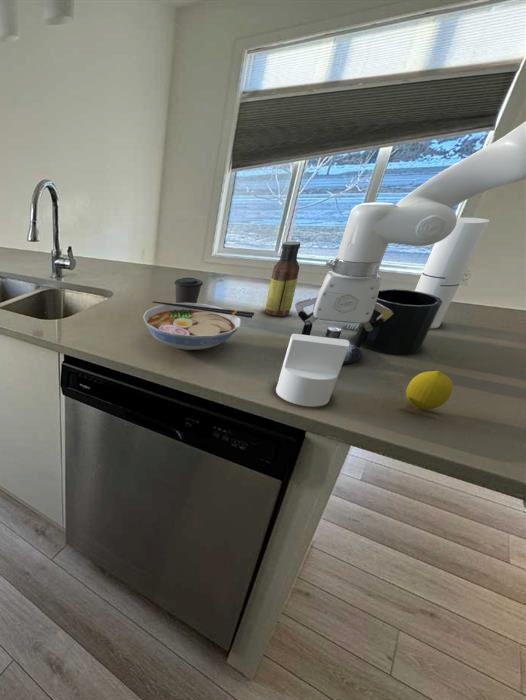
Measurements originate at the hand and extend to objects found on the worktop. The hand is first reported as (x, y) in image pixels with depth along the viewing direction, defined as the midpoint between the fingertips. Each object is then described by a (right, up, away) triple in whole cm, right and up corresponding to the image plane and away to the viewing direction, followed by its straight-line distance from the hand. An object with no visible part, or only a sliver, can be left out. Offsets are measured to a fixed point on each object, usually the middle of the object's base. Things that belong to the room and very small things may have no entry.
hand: (330, 341), depth 93 cm
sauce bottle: (+3, +11, +24) cm, 27 cm away
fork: (+22, +8, +17) cm, 29 cm away
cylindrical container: (+32, +6, +11) cm, 34 cm away
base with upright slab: (-15, -12, -12) cm, 23 cm away
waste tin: (+16, 0, +3) cm, 16 cm away
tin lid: (0, -2, +1) cm, 2 cm away
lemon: (+1, -15, -19) cm, 24 cm away
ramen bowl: (-29, 0, +12) cm, 31 cm away
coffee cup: (-21, +13, +31) cm, 39 cm away
